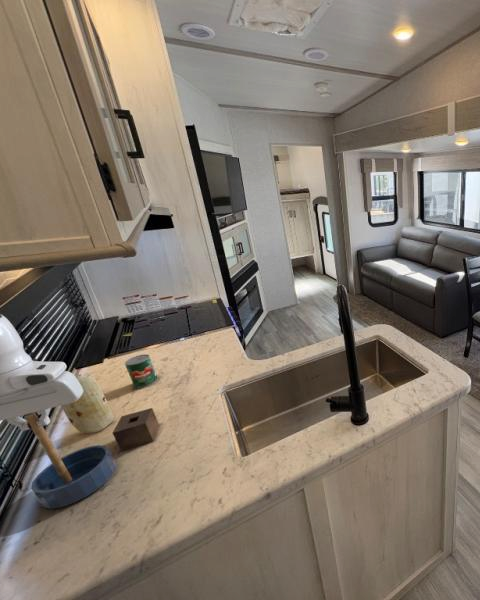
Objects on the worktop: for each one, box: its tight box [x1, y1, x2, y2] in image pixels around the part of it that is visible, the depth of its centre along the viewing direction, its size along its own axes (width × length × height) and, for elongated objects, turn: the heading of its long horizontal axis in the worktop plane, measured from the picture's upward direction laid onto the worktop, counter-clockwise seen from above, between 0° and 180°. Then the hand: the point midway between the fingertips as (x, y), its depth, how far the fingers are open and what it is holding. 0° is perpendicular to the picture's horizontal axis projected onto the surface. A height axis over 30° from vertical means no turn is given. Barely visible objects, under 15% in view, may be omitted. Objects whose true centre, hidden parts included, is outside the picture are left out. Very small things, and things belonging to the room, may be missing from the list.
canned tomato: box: [124, 353, 159, 389], centre depth 125 cm, size 8×8×11 cm
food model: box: [60, 372, 115, 434], centre depth 99 cm, size 10×7×20 cm
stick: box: [23, 412, 72, 484], centre depth 77 cm, size 2×2×22 cm
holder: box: [112, 407, 160, 452], centre depth 96 cm, size 8×8×7 cm
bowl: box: [30, 444, 117, 510], centre depth 81 cm, size 14×14×6 cm
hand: (36, 426), depth 75 cm, fingers closed on stick, 1 cm apart
